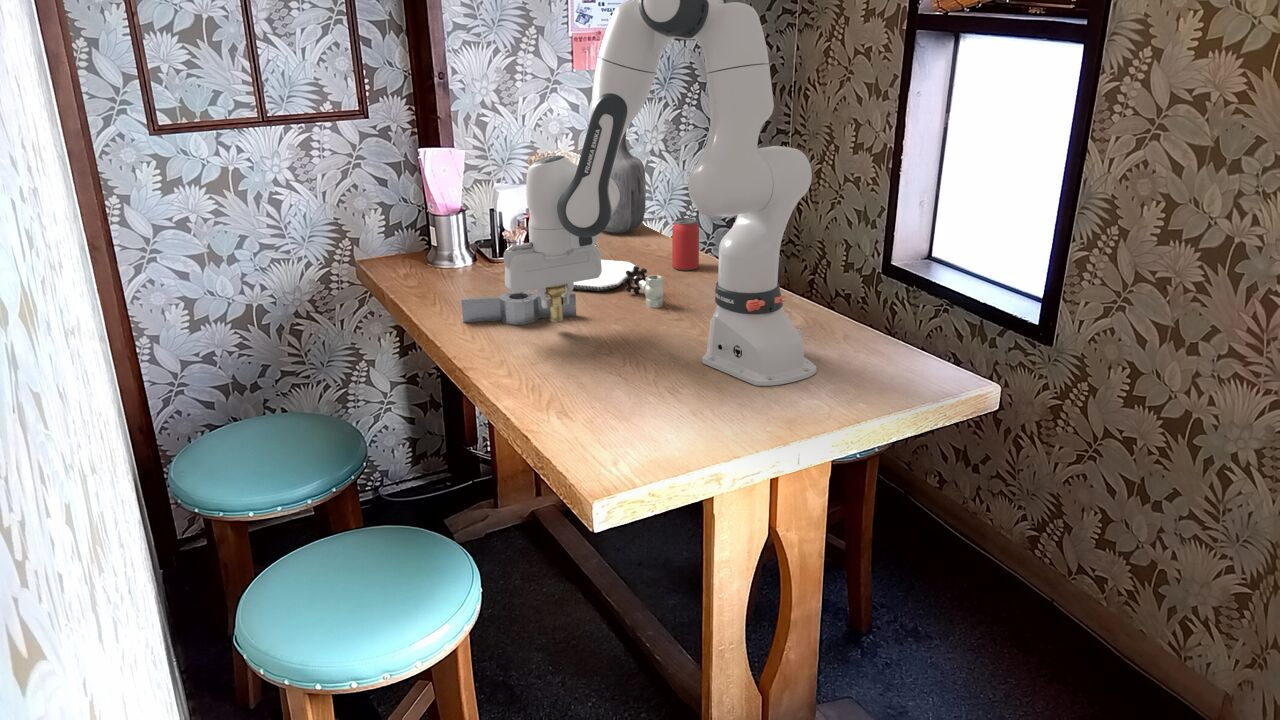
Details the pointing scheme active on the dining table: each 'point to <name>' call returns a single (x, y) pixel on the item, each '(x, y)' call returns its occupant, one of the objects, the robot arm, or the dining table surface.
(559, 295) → the hinge pin
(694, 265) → the beer can
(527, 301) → the hinge
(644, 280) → the valve
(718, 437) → the dining table surface
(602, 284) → the plate
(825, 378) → the dining table surface
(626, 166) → the vase
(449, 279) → the dining table surface
